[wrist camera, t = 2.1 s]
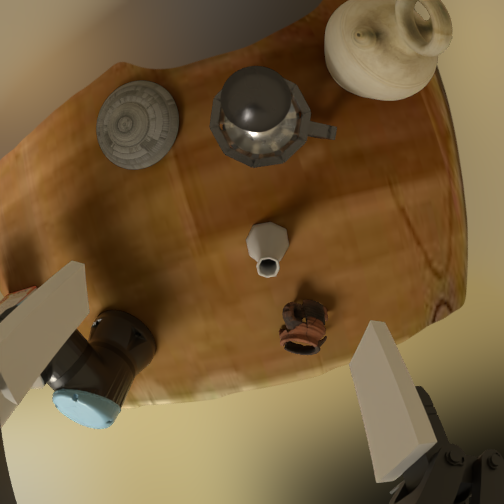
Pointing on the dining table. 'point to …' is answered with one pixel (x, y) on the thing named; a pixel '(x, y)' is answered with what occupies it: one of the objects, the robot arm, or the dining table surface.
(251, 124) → the plunger
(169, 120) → the flying saucer
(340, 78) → the jug
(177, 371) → the dining table surface
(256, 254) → the flask
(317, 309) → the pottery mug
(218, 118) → the press carafe
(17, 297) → the cracker box
